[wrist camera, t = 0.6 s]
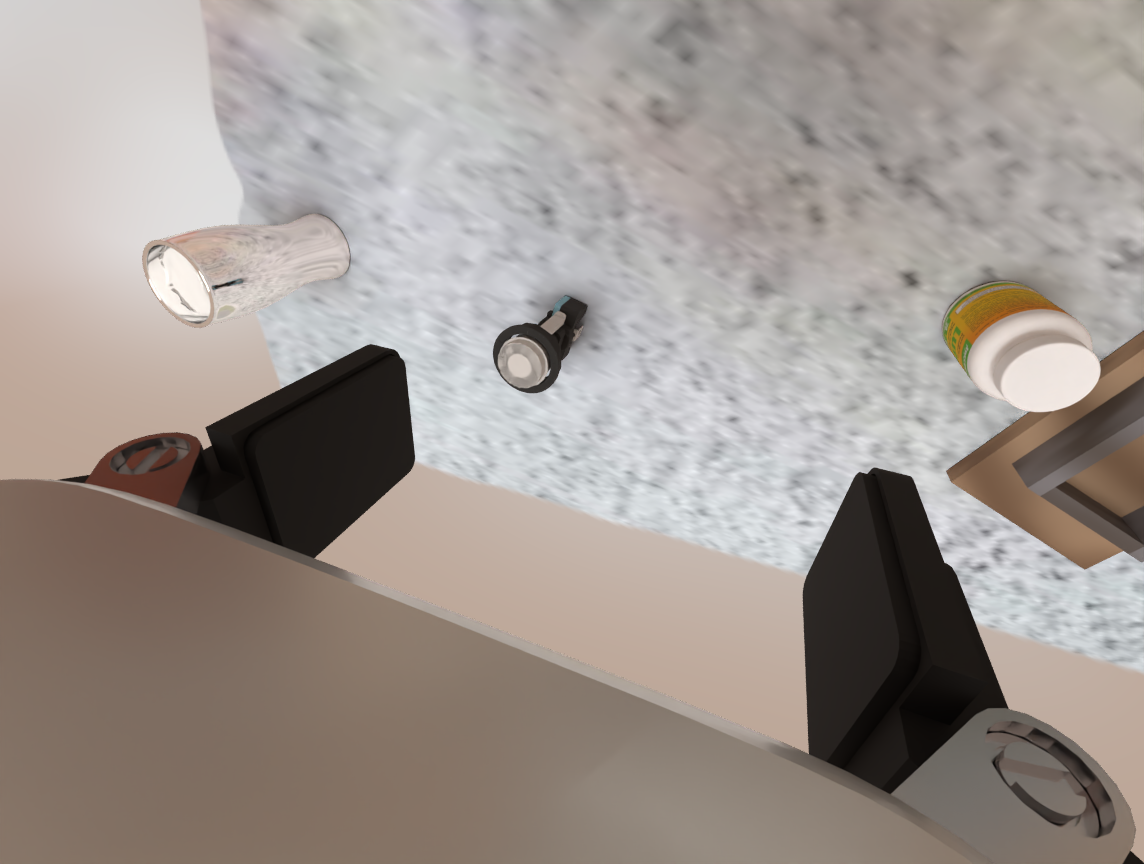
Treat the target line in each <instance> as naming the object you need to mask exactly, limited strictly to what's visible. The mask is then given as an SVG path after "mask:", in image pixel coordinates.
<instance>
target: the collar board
mask: <svg viewBox="0 0 1144 864" xmlns="http://www.w3.org/2000/svg"><path fill="white" fill-rule="evenodd" d="M1099 363H1100V369H1101V371H1100V377H1099V380H1098V382H1097V384H1096V385H1095V387H1094V388H1093V389H1092V391H1091V392H1090V393H1088V394H1087V395H1086V396H1085V397H1084V398H1082V399H1081V400H1080V401H1078V402H1076V403H1074V404H1073V405H1070V406H1068V407H1065V408H1062V409H1059V410H1055V411H1049V412H1031V411H1030V412H1029V413H1027V414H1026V415H1025V416H1023V417H1022V418H1020V419H1019V420H1018V421H1016V422H1015V423H1013V424H1012V425H1011V426H1009V427H1008V428H1006V429H1005V430H1004V431H1002V432H1001V433H999V434H998V435H996V436H995V437H994V438H992V439H991V440H989V441H988V442H987V443H985V444H984V445H982V446H981V447H980V448H978V449H977V450H975V451H974V452H973V453H971V454H970V455H968V456H967V457H965V458H964V459H963V460H961V461H960V462H958V463H957V464H956V465H954V466H953V467H951V468H950V469H949V470H947V471H946V472H947V474H948V476H949V478H950V481H951V482H952V483H953V484H955V485H956V486H958V487H960V488H961V489H963V490H964V491H966V492H967V493H969V494H970V495H972V496H973V497H975V498H976V499H978V500H979V501H981V502H982V503H984V504H985V505H987V506H989V507H990V508H992V509H993V510H995V511H996V512H998V513H999V514H1001V515H1002V516H1004V517H1005V518H1007V519H1008V520H1010V521H1011V522H1013V523H1015V524H1016V525H1018V526H1019V527H1021V528H1022V529H1024V530H1025V531H1027V532H1028V533H1030V534H1031V535H1033V536H1034V537H1036V538H1037V539H1039V540H1040V541H1042V542H1044V543H1045V544H1047V545H1048V546H1050V547H1051V548H1053V549H1054V550H1056V551H1057V552H1059V553H1060V554H1062V555H1063V556H1065V557H1066V558H1068V559H1069V560H1071V561H1073V562H1074V563H1076V564H1077V565H1079V566H1080V567H1082V568H1083V569H1087V568H1089V567H1091V566H1093V565H1095V564H1097V563H1099V562H1101V561H1103V560H1105V559H1107V558H1110V557H1112V556H1114V555H1116V554H1118V553H1120V552H1122V551H1125V552H1126V553H1128V554H1129V555H1131V556H1132V557H1134V558H1135V559H1137V560H1139V561H1140V562H1143V561H1144V331H1143V332H1142V333H1140V334H1139V335H1137V336H1136V337H1135V338H1133V339H1132V340H1130V341H1129V342H1127V343H1126V344H1125V345H1123V346H1122V347H1120V348H1119V349H1118V350H1116V351H1115V352H1113V353H1112V354H1111V355H1109V356H1108V357H1106V358H1105V359H1104V360H1102V361H1101V362H1099Z"/></svg>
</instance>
